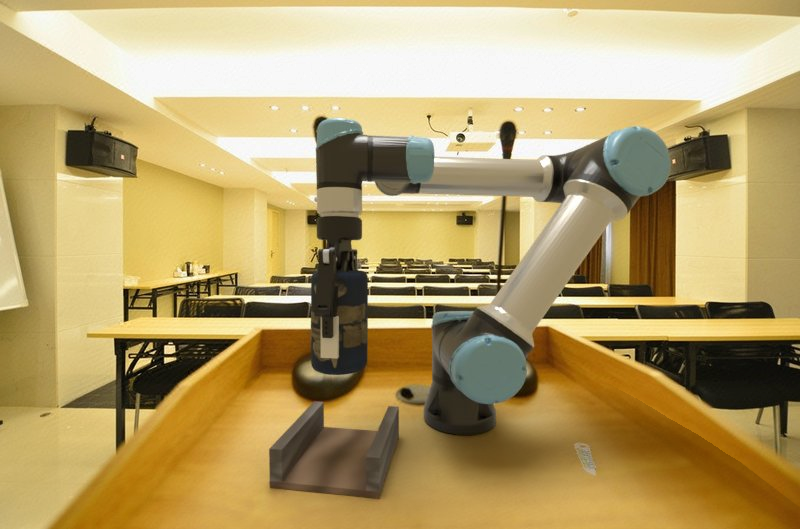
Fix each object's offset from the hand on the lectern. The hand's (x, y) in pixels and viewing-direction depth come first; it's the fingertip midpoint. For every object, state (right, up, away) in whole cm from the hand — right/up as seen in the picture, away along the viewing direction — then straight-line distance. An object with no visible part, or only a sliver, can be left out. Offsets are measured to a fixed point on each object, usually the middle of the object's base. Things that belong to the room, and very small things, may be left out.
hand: (339, 349), depth 64 cm
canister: (0, -4, 0) cm, 4 cm away
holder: (0, -19, +1) cm, 19 cm away
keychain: (+43, -20, +1) cm, 47 cm away
